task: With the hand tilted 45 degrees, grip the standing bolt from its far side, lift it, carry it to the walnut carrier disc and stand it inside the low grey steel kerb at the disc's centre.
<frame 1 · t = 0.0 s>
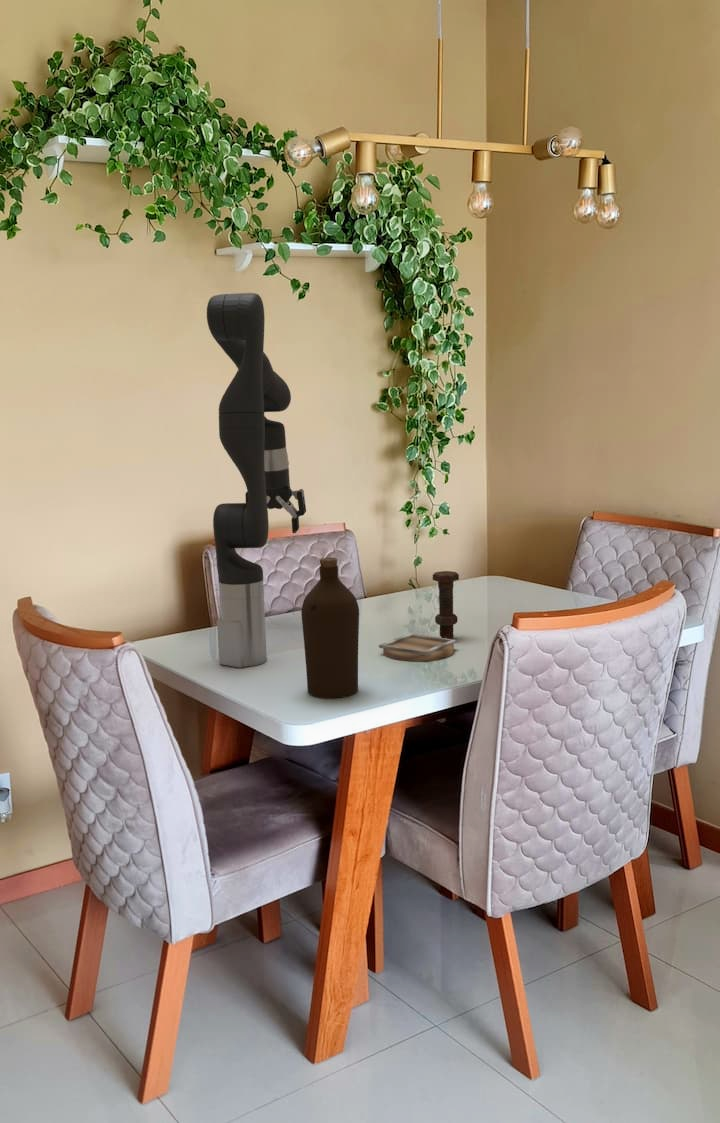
hand: (277, 532, 239), 22 cm above the table, tool pointing down, fingers open, 8 cm apart
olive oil: (333, 692, 184), on the table
bolt: (446, 639, 222), on the table
carrier: (418, 652, 211), on the table
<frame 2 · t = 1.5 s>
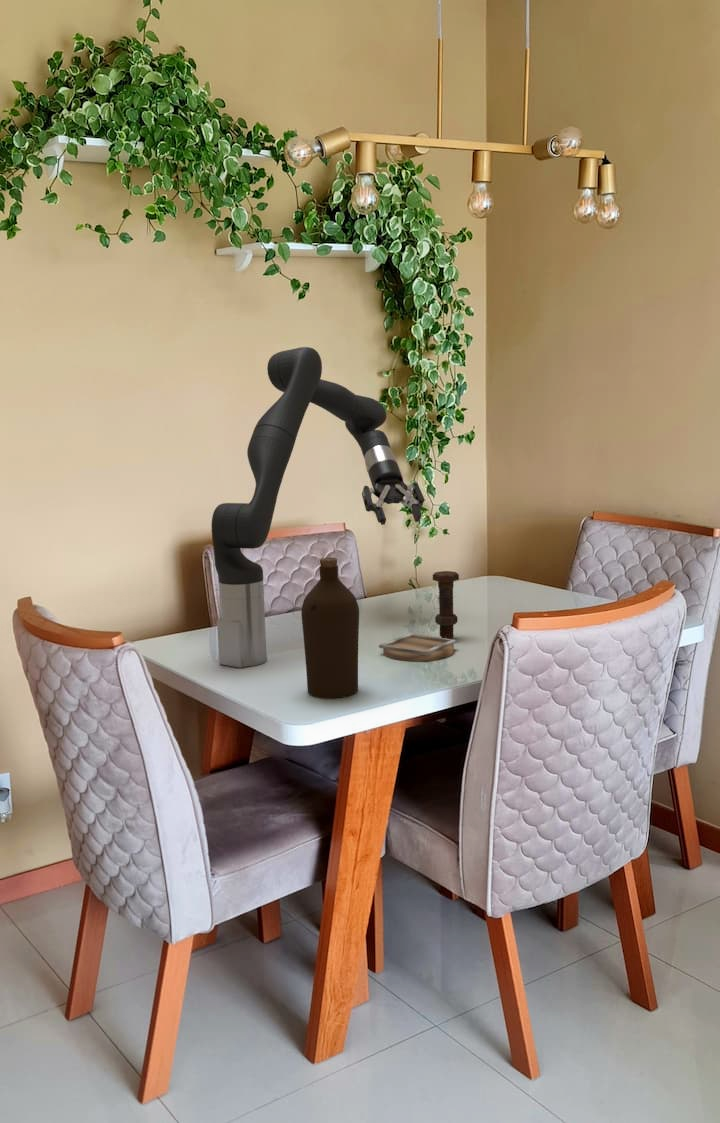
hand: (401, 521, 231), 25 cm above the table, tool tilted 45°, fingers open, 8 cm apart
nothing on the table moved.
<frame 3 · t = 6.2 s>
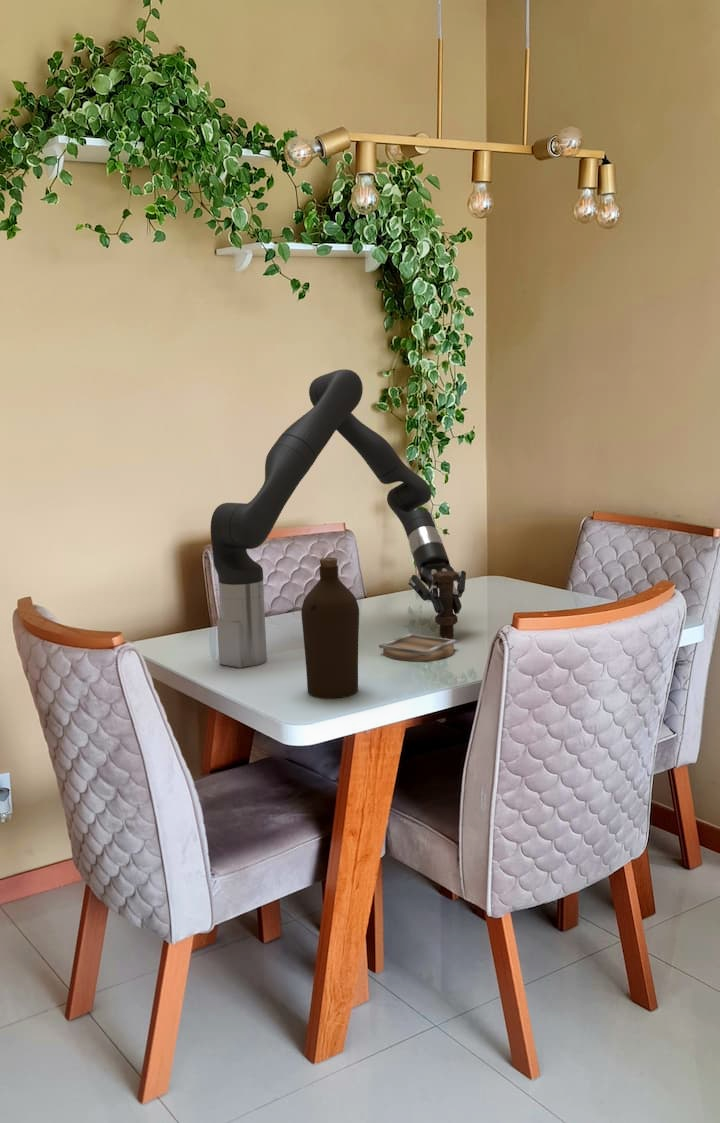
hand: (449, 612, 219), 6 cm above the table, tool tilted 45°, fingers closed on bolt, 3 cm apart
bolt: (446, 639, 222), on the table, touching gripper
everything else where it was.
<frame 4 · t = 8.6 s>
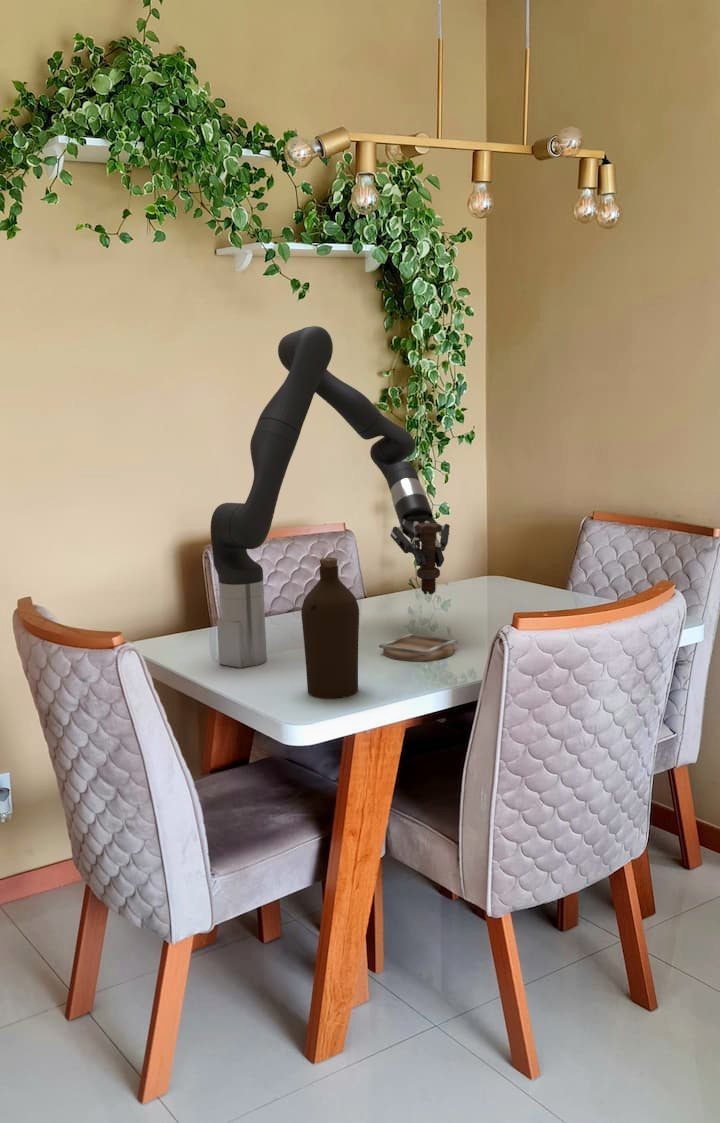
hand: (431, 565, 211), 18 cm above the table, tool tilted 45°, fingers closed on bolt, 3 cm apart
bolt: (428, 594, 213), point 12 cm above the table, touching gripper
everything else where it was.
when the fingers open (8 cm above the table, at t = 11.1 s): bolt stays where it is, resting on carrier.
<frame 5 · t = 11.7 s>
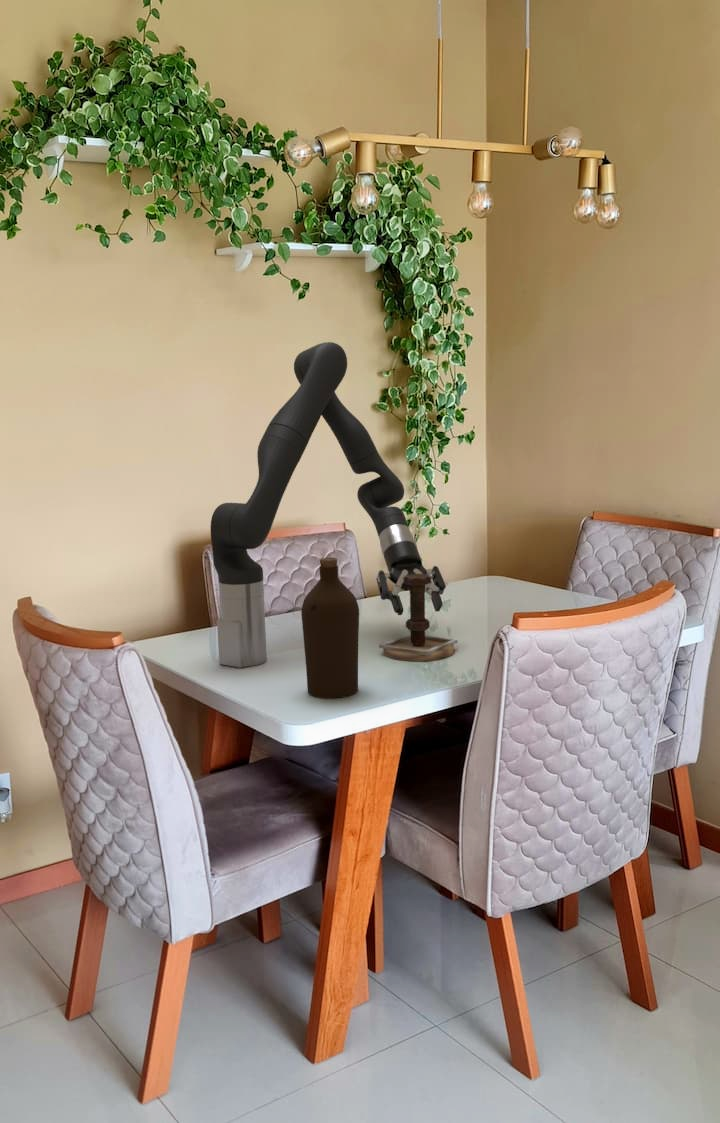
hand: (420, 611, 208), 9 cm above the table, tool tilted 45°, fingers open, 8 cm apart
bolt: (417, 645, 211), point 1 cm above the table, touching carrier
everything else where it was.
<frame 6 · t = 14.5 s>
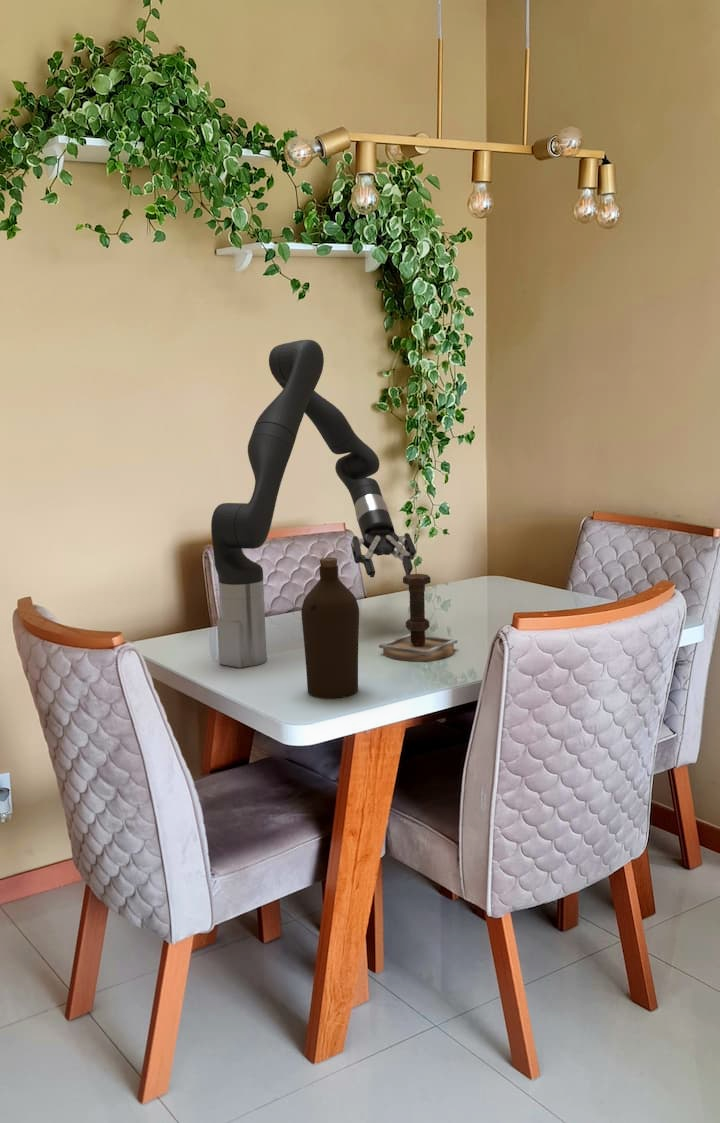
hand: (391, 574, 220), 15 cm above the table, tool tilted 45°, fingers open, 8 cm apart
nothing on the table moved.
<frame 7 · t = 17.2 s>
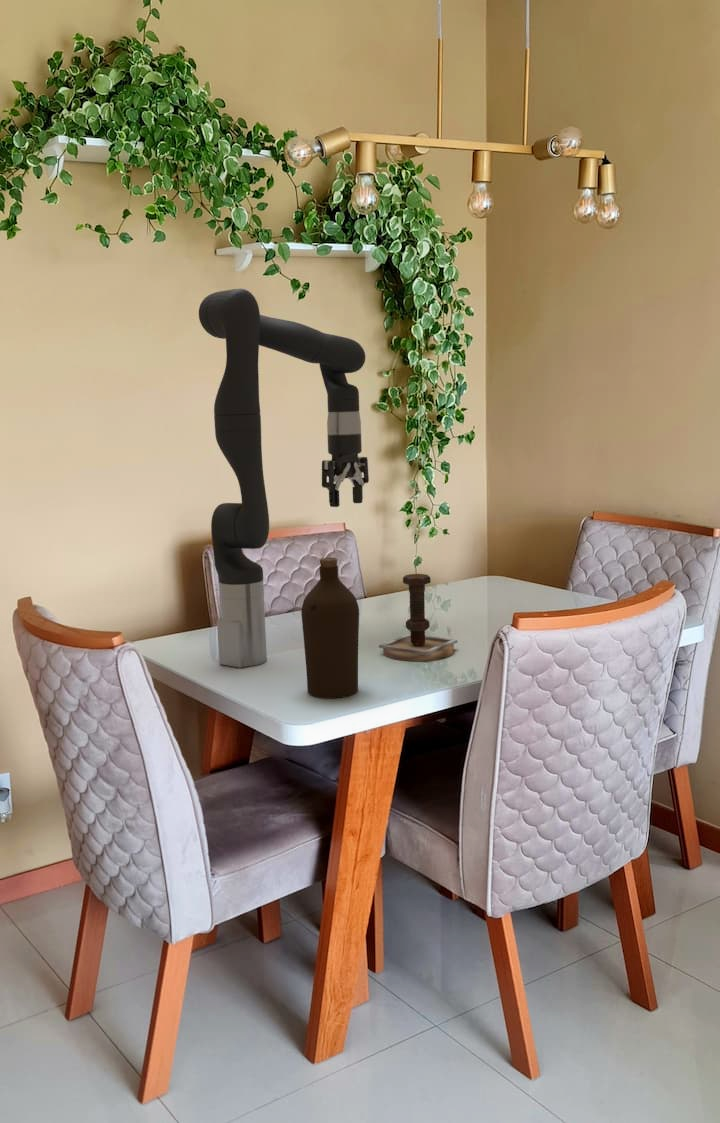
hand: (346, 504, 223), 30 cm above the table, tool pointing down, fingers open, 8 cm apart
nothing on the table moved.
at the end: bolt inside the target area on the carrier (0.2 cm from its centre), point 1.3 cm above the carrier's base; bolt tilted 0°; the gripper is holding nothing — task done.
